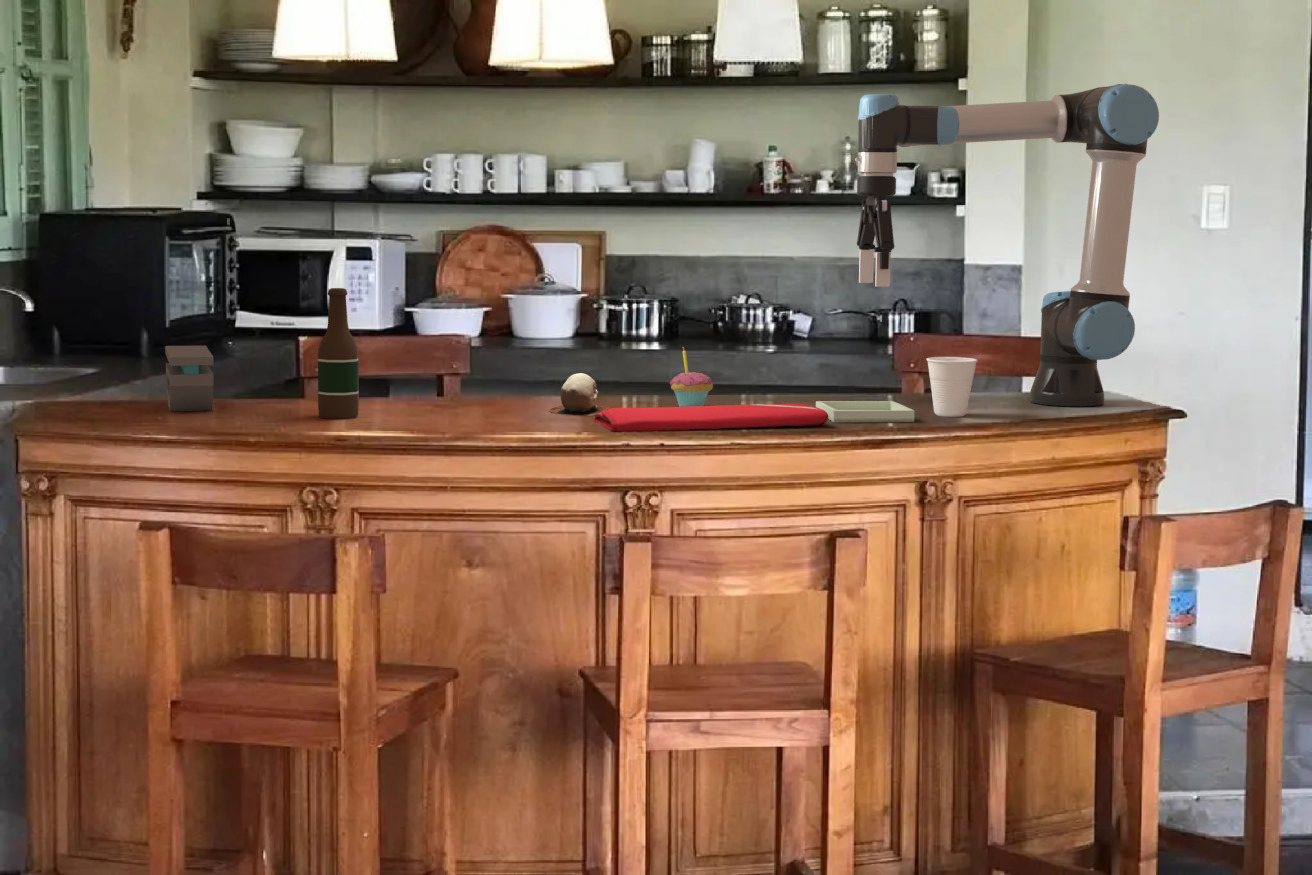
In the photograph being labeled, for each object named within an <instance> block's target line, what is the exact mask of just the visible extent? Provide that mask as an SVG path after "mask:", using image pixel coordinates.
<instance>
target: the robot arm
mask: <svg viewBox="0 0 1312 875" xmlns="http://www.w3.org/2000/svg"><path fill="white" fill-rule="evenodd" d="M858 107H859V108H858V117H857V121H858V127H857V128H858V132H857V134H858V137H857V139H858V141H857V142H858V148H857V150H858V151H857V153H858V154H857V157H855V159H854V161H855V163H857V172H858V174H860V176H859V175H858V176H857V178H856V180H857V181H856V194H857V195H858V196H866V199H862V200H861V212H860V217H859V218H860V220H859V226H858V232H857V234H858V235H857V239H856V240H857V241H856V246H857V247H858V248H859V258H858V259H859V262H858V263H859V265H858V268H859V270H858V271H859V272H858V283H859V284H871V283H872V284H873V283H874V287H877V288H878V287H879V288H880V287H887V288H888V287H890V286H891V258H892V256H891V255H892V251H893V250H894V249H895V241H894V230H893V229H894V228H893V221H892V219H893V218H892V201H891V200H887V199H886V196H890V197H891V196H895V195H897V194H896V192H897V178H896V176H894V174H896V173H897V172H898V171H897V170H898V168H897V167H898V166H897V164H898V146H899V147H900V148H901V147H903V148H906V147H907V148H908V147H917V146H945V145H946V146H947V145H949V146H950V145H953V144H963V143H964V144H965V143H967V144H968V143H983V142H985V143H986V142H1000V141H1001V142H1003V141H1023V140H1039V139H1052V140H1053V141H1054V142H1055V143H1058V144H1059V143H1077V144H1086V146H1085V153H1086V154H1087V155H1088V156H1089V158H1090V159H1091V162H1092V164H1091V171H1090V180H1089V189H1088V198H1087V210H1086V218H1085V227H1084V237H1083V244H1082V255H1081V264H1080V273H1079V280H1078V282H1077V283H1076V284H1074V285H1073V286H1072V287H1071V288H1070V290H1066V291H1053V292H1049V293H1047V294H1045V295H1044V297H1043V298H1042V305H1041V308H1040V313H1041V318H1040V319H1041V320H1040V322H1041V325H1040V326H1041V328H1040V349H1039V350H1040V353H1039V354H1040V355H1039V357H1040V358H1039V365H1038V369H1037V372H1036V375H1035V377H1034V380H1033V383H1032V386H1031V388H1030V392H1029V402H1030V403H1033V404H1038V405H1047V406H1048V405H1049V406H1057V407H1058V406H1060V407H1062V406H1063V407H1094V406H1095V407H1096V406H1102V405H1104V404H1105V391H1104V388H1103V384H1102V380H1101V378H1100V377H1101V376H1100V374H1099V370H1098V361H1101V360H1102V361H1103V360H1106V361H1107V360H1111V359H1114V358H1116V357H1118V356H1120V355H1121V354H1122V353H1124V352H1125V351H1126V350H1127V349H1128V348H1129V347H1130V345H1131V343H1132V342H1133V340H1134V339H1133V338H1134V337H1135V333H1136V332H1135V330H1136V324H1135V319H1134V317H1133V315H1132V313H1131V312H1130V310H1129V307H1130V298H1131V293H1130V292H1129V291H1128V289H1127V288H1126V287H1125V286H1124V282H1125V281H1124V279H1125V273H1126V263H1127V262H1126V261H1127V254H1128V244H1129V238H1130V236H1129V235H1130V227H1131V226H1130V225H1131V218H1132V209H1133V208H1132V207H1133V200H1134V190H1135V184H1136V183H1135V181H1136V174H1137V166H1138V164H1139V163H1140V161H1142V160H1143V159H1144V158H1145V157H1146V154H1147V147H1148V141H1149V140H1148V139H1150V138H1151V137H1152V135H1153V134H1154V133H1155V131H1156V130H1157V128H1158V125H1159V120H1160V112H1159V107H1158V104H1157V102H1156V99H1155V98H1154V96H1152V94H1151V93H1150V92H1149V91H1148V90H1147V89H1146V88H1144V87H1141V86H1139V85H1136V84H1131V83H1130V84H1128V83H1117V84H1114V85H1106V86H1100V87H1099V86H1098V87H1096V88H1095V87H1094V88H1091V89H1087V90H1084V91H1079V92H1074V93H1069V94H1056V95H1054V96H1053V97H1052V98H1051V99H1050V100H1037V101H1036V100H1035V101H1018V102H1017V101H1016V102H1015V101H1014V102H1001V103H1000V102H998V103H981V104H962V105H960V104H959V105H942V104H941V105H940V104H939V105H907V104H906V105H905V104H900V102H899V97H898V95H896V94H887V93H881V94H880V93H874V94H873V93H871V94H869V93H868V94H865V95H862V97H860V100H859V106H858ZM874 241H875V242H876V244H874ZM874 254H875V255H874ZM874 257H875V259H874ZM874 260H875V263H874ZM874 264H875V278H874ZM874 279H875V280H874ZM874 281H875V282H874Z"/></svg>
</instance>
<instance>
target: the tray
mask: <svg viewBox="0 0 1312 875" xmlns="http://www.w3.org/2000/svg"><path fill="white" fill-rule="evenodd" d="M815 407H817V408H820V409H822V410H824V411H826V412H827V414H828V419H829V420H828V421H830V420H831V421H830V422H832V423H915V409H912V408H909V407H907V406H906V405H904V404H901V403H898V402H895V400H883V401H882V400H879V401H878V400H877V401H876V400H874V401H873V400H867V401H866V400H861V401H860V400H854V401H852V400H851V401H849V400H846V401H843V400H839V401H837V400H836V401H835V400H831V401H830V400H829V401H827V400H826V401H825V400H824V401H821V400H817V401H815Z"/></svg>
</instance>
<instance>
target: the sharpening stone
mask: <svg viewBox="0 0 1312 875" xmlns="http://www.w3.org/2000/svg"><path fill="white" fill-rule="evenodd" d="M164 348H165V349H164V350H165V356H166V359H167V361H168V362H166V363H165V376H166V377H165V378H166V381H165V382H166V397H167V406H168V407H167V408H168V409H169V411H170V412H192V411H195V412H196V411H198V412H199V411H201V412H202V411H213V400H214V385H215V384H214V372H213V371H212V369H211V368H210V366H214V356H213V354H212V353H211V351H210V349H209V348H208V346H207V345H165V346H164Z"/></svg>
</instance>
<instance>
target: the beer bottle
mask: <svg viewBox="0 0 1312 875" xmlns="http://www.w3.org/2000/svg"><path fill="white" fill-rule="evenodd" d="M327 295H328V312H327V313H328V314H327V326H326V332H325V334H324V336H323V337H322V339H321V340H320V344H319V346H318V350H317V402H318V404H317V405H318V408H317V409H318V417H319V419H320V418H321V419H328V420H347V419H349V420H350V419H356V418H357V417H358V415H359V411H360V410H359V406H360V402H359V401H360V400H359V399H360V398H359V397H360V392H359V390H360V388H359V378H360V376H359V349H358V346H357V342H356V339H355V338H354V337H353V335H352V334H351V332H350V329H349V323H348V321H349V320H348V309H347V308H348V307H347V295H348V291H347V288H344V287H336V288H335V287H332V288H329V289H328V291H327Z"/></svg>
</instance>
